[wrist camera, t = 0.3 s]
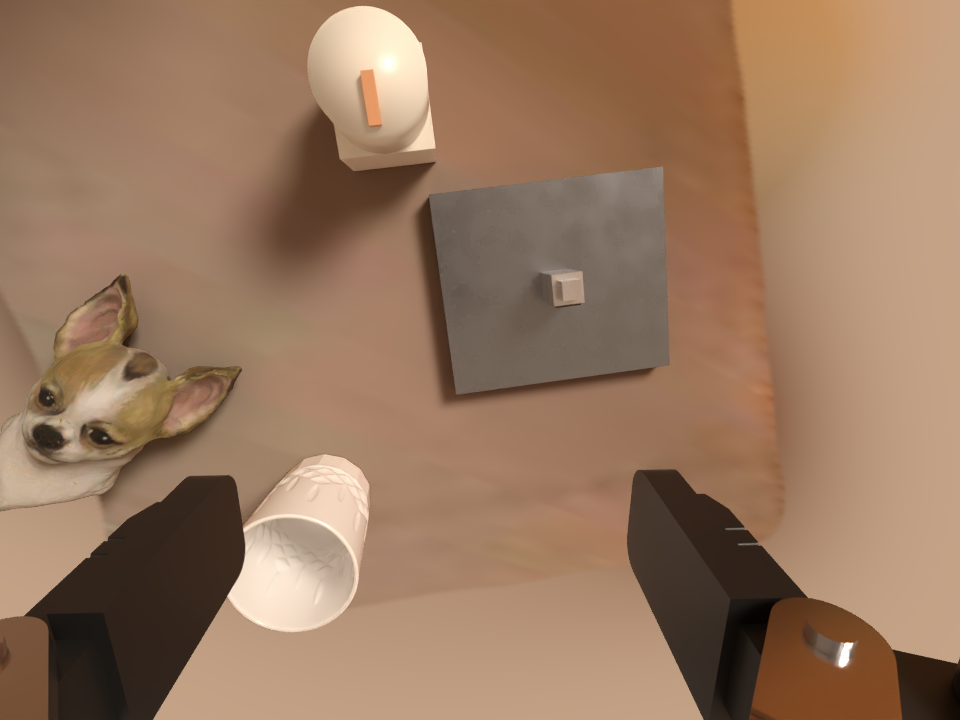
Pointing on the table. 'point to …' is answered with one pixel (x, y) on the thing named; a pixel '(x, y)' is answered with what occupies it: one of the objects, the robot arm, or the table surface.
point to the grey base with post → (553, 278)
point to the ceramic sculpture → (99, 407)
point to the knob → (373, 89)
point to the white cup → (304, 547)
